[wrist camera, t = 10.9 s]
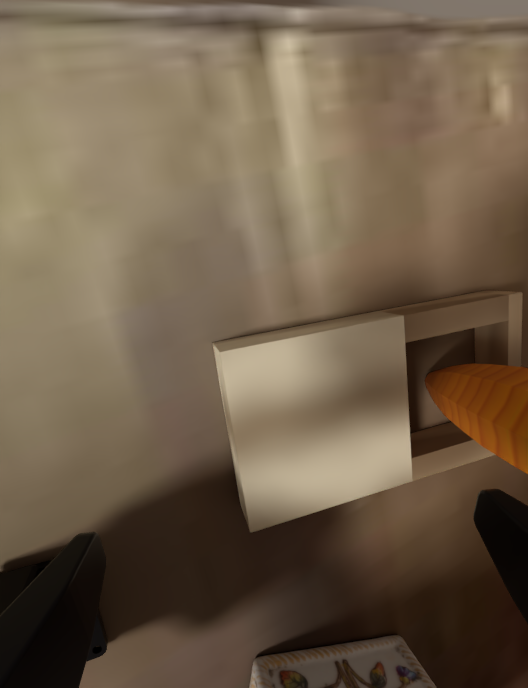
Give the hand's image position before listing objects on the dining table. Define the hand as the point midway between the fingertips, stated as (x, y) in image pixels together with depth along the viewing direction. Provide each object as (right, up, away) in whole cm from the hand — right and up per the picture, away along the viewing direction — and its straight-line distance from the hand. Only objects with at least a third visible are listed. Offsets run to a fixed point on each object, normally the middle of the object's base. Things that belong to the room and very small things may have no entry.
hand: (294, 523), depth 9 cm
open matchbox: (+6, +1, +14) cm, 16 cm away
